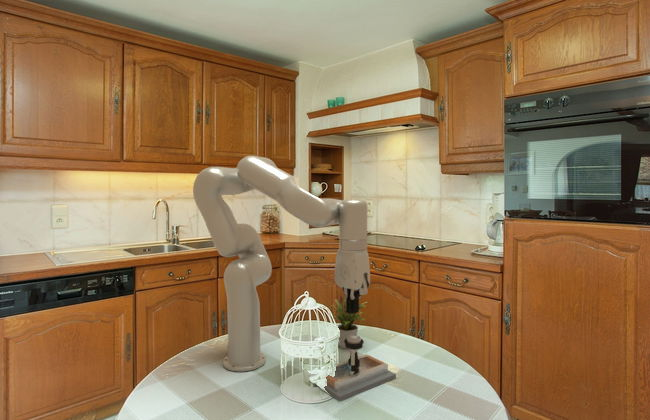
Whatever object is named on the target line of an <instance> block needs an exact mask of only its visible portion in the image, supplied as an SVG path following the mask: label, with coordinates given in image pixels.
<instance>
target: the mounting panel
mask: <svg viewBox="0 0 650 420" xmlns="http://www.w3.org/2000/svg"><path fill="white" fill-rule="evenodd" d="M395 379H397V373H395V372H394V371H391V370H389V369H388V372H387V373H385V374H382V375H380V376H377V377H375V378H372V379H370V380H367V381H365V382H362V383H360V384H357V385H355V386H352V387H350V388H347V389H344V390H342V391H339V392H337V391H335V390H333V389H332V388H330V387H329V386H325V387H324V388H325V390H326V391H327V392H328V393H329V394H330V395H329V394H328V393H327V394H328V395H329V396H331V397H333V398H334V399H335V400H337V401H338V402H342V401H346V400H348V399H349V398H352V397H354V396H357V395H359V394H361V393H363V392H366V391H369V390H372V389H374V388H376V387H378V386H381V385H383V384H385V383H388V382H390V381H393V380H395Z"/></svg>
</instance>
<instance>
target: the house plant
mask: <svg viewBox="0 0 650 420" xmlns="http://www.w3.org/2000/svg"><path fill="white" fill-rule="evenodd" d="M343 300H344V304H341V303H340V302H339V301H338V299H335V298H334V301H335V303H336V305H337V307H336V306H334V305H333V304H331V306H332V308H333V309H334V310H335V311H336V312H337V314H335V316H334V315H332V316H333V318H332V319H334V320H335V319H336V320H338V321H339V322H340V324H338V325H337V326H338V328H339V330H340V337H339V338H338V344H339V347H340V348H342V349H348V348H346V346H345V343H344V340H345V339H346V338H347V337H348V336H350V335H357V336H358V330H359V326H357V325H356V323H357V322H355V321H357V320H359V321H364V322H366V321H365V320H366V319H365V318H363V317H362V315H361V314H364V311H361V310H360V309H361V308H364V307H365V304H367V303H368V301H365V302H362V303H361V304H360V303H359V312H358V313H353V314H349V313H347V312H346V297H343ZM342 305H343V306H344V309H343V306H342ZM361 317H362V318H361ZM348 350H349V349H348Z"/></svg>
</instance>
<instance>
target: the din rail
mask: <svg viewBox="0 0 650 420" xmlns="http://www.w3.org/2000/svg"><path fill="white" fill-rule="evenodd" d="M358 359H359V361H360V372H359V371H358V372H357V374H354V375H352V376H349V373H348V367H349V364H348V359H347V360H345V361H342V362H339V363H337V365H336V364H335V365H336V371H335V376H334V377H332V376H330V375H328V376H327V377H326V379H327V386H329V387H330V388H332V389H333V390H335V391H337V392H339V391H342V390H344V389H347V388H350V387H352V386H355V385H357V384H360V383H362V382H365V381H367V380H370V379H372V378H375V377H377V376H380V375H382V374H385V373H387V372H388V370H389V364H388V363H386V362H384V361H381V360H380V359H377V358H375V357H374V356H371V355H369V354H367V353H365V354H362V355H360V356H359V355H358Z"/></svg>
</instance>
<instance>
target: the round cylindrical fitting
mask: <svg viewBox="0 0 650 420" xmlns="http://www.w3.org/2000/svg"><path fill="white" fill-rule="evenodd" d="M344 343H345V346H346V348H348V350H349V352H350V354H349V355H350V356H349V358H348V359H347V360H348V364H349V367H348V373H349V376H352V375H354V374H357V372H358V371H359V372H360V361H359V359H358V357H359V355H358V351H360V350H361V349H362V348H363V347H364V346H363V345H364V343H365V342H364V339H363V338H361V336H359V335H358V334H357V335H350V336H348V337H347V338H346V339H345V340H344ZM346 348H345V349H346Z"/></svg>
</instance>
